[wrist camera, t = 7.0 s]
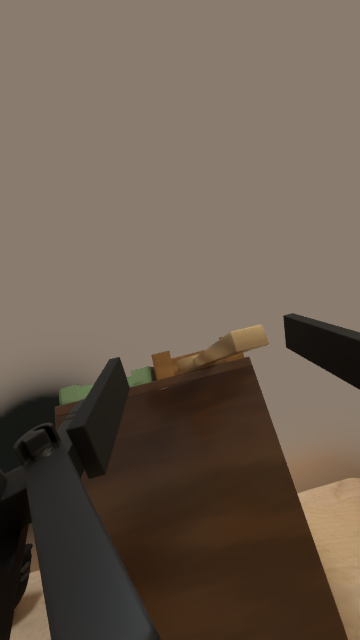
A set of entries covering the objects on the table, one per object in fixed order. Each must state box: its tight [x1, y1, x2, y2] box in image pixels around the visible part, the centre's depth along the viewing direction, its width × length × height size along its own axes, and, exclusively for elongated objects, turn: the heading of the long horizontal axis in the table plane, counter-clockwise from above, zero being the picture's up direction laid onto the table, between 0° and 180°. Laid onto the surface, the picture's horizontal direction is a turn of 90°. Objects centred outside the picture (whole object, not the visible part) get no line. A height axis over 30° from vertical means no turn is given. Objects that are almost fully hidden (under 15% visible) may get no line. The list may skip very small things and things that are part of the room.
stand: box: [55, 357, 348, 640], centre depth 23 cm, size 12×23×29 cm, turn 90°
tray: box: [59, 367, 157, 406], centre depth 27 cm, size 12×11×2 cm
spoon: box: [176, 325, 269, 371], centre depth 21 cm, size 23×6×2 cm, turn 5°
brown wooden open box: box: [152, 337, 244, 380], centre depth 28 cm, size 12×11×3 cm
